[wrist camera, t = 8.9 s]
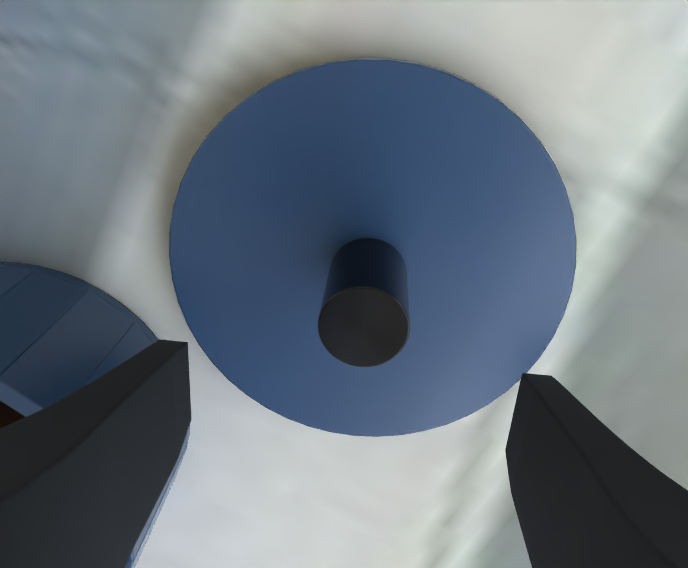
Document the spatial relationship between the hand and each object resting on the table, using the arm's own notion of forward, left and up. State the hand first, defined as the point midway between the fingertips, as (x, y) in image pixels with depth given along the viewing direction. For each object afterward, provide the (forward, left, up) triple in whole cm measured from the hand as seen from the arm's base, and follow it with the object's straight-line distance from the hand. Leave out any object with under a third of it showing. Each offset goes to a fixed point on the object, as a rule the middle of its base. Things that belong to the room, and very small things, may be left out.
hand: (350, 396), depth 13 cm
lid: (0, 0, -7) cm, 7 cm away
